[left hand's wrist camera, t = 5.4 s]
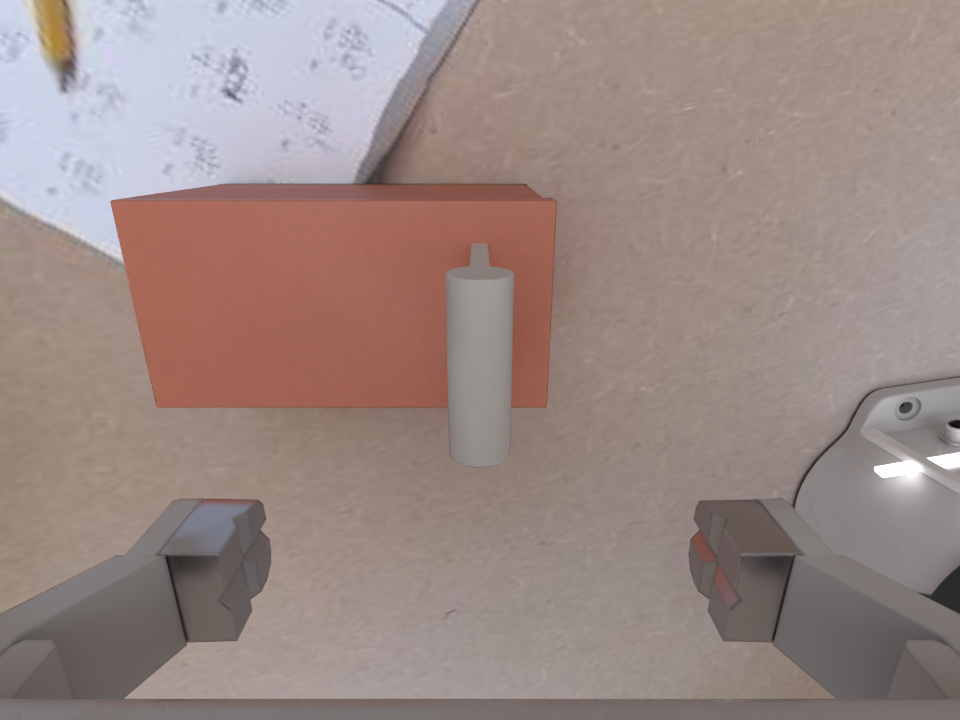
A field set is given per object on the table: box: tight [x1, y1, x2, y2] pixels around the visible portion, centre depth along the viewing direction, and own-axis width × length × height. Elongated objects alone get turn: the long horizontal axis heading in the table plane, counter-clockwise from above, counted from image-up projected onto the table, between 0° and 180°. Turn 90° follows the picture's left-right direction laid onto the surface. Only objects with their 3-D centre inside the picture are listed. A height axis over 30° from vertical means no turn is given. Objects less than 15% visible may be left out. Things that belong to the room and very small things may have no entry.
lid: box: [111, 198, 557, 467], centre depth 21 cm, size 18×9×9 cm, turn 90°
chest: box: [130, 184, 542, 198], centre depth 30 cm, size 18×9×10 cm, turn 90°
